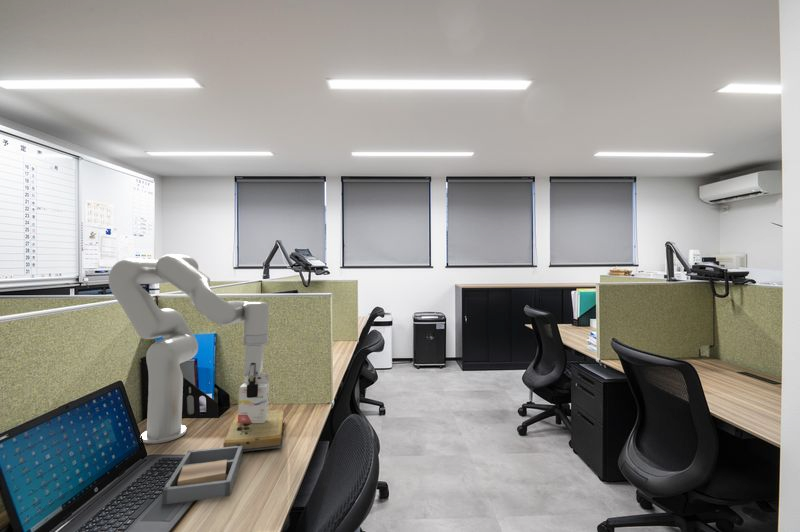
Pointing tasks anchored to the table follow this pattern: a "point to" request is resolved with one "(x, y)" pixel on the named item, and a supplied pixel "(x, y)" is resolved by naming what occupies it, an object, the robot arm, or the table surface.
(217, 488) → the rack
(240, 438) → the book
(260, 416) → the ink cartridge box
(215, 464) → the offcut top
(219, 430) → the table surface
